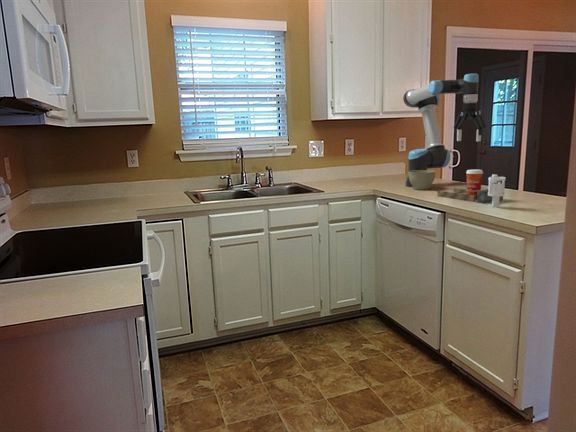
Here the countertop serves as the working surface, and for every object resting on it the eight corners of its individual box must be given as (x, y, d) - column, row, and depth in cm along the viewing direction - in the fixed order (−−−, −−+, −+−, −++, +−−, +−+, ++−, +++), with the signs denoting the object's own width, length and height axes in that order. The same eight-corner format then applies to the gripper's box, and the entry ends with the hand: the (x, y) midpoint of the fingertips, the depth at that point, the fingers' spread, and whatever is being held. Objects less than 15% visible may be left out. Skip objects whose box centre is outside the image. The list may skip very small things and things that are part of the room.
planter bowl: (436, 190, 255) (437, 172, 253) (408, 191, 258) (409, 173, 256) (433, 186, 270) (433, 169, 268) (407, 187, 274) (407, 170, 272)
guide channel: (437, 196, 236) (437, 185, 235) (456, 193, 242) (456, 182, 241) (483, 203, 210) (483, 191, 208) (503, 200, 216) (503, 188, 214)
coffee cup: (461, 199, 224) (463, 170, 221) (469, 197, 229) (470, 169, 226) (477, 200, 217) (478, 171, 214) (485, 198, 222) (486, 169, 219)
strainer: (498, 205, 204) (500, 173, 201) (506, 207, 197) (508, 175, 194) (484, 206, 204) (485, 174, 201) (491, 208, 197) (493, 176, 194)
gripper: (448, 104, 249) (446, 141, 253) (484, 101, 227) (482, 141, 231) (457, 103, 252) (456, 140, 256) (494, 101, 230) (491, 141, 234)
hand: (468, 141), depth 244 cm, fingers open, 13 cm apart
